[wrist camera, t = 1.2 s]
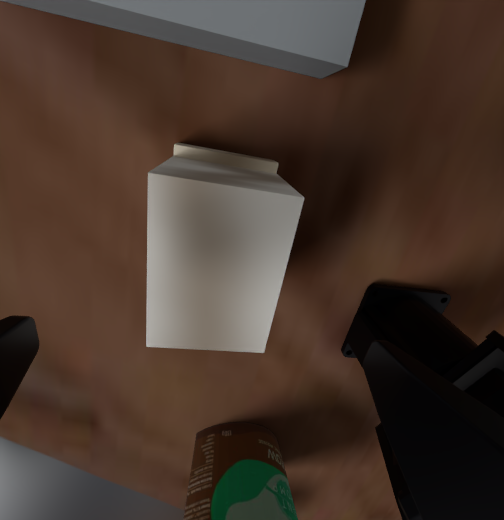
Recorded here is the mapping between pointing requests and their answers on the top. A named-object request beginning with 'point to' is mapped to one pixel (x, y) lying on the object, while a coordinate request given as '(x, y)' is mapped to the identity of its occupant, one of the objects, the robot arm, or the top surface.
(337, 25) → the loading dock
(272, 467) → the food container
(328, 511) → the top surface
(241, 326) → the white milk carton
